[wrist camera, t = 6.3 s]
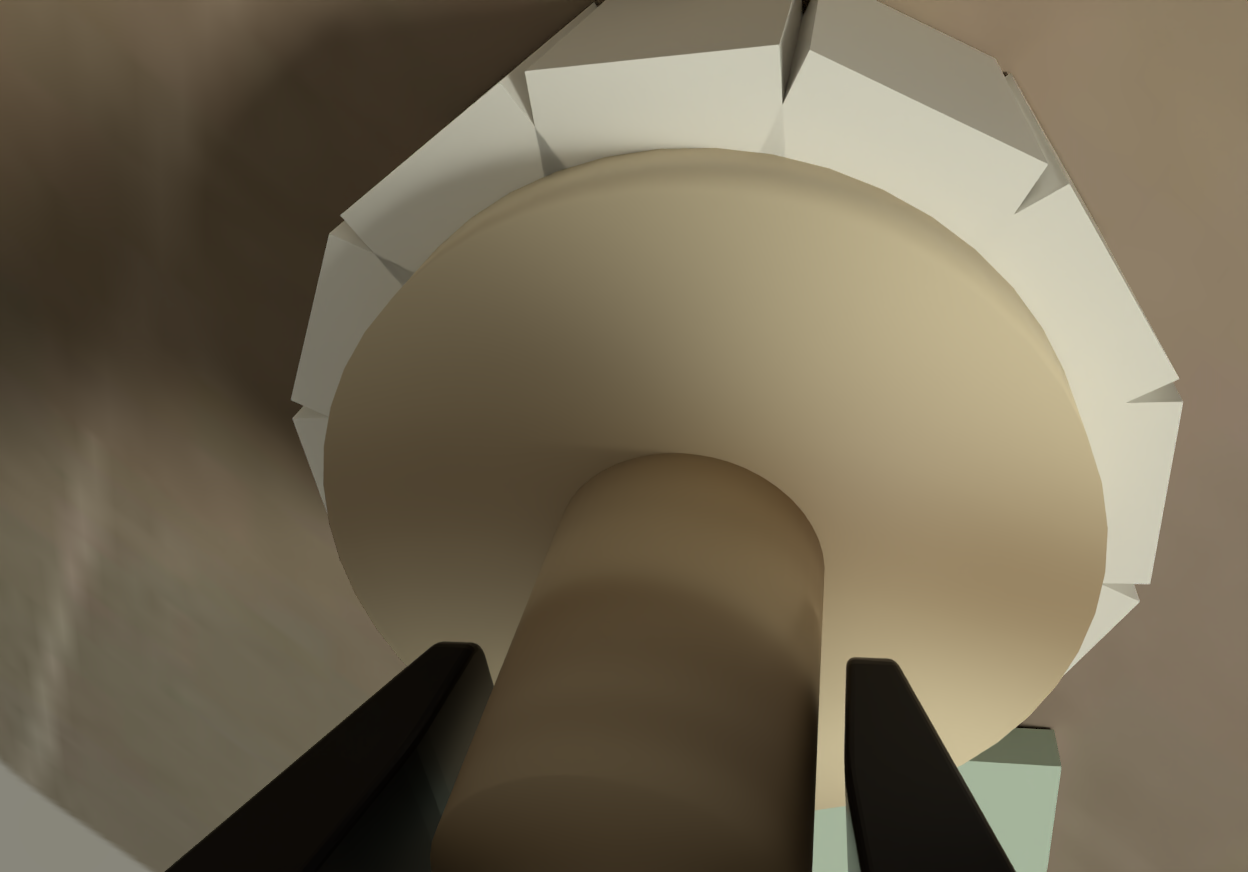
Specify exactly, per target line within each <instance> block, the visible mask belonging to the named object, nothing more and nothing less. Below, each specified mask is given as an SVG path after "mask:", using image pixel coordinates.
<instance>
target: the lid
mask: <svg viewBox="0 0 1248 872" xmlns="http://www.w3.org/2000/svg"><path fill="white" fill-rule="evenodd" d="M323 486H324V492H325V499H326V506H327V513H328V520H329V525H330V528H331V531H332V535H333V538H334V542H335V545H336V548H337V552H338V555H339V558H340V561H341V563H342V565H343V568H344V570H345V572H346V574H347V577H348V579H349V581H350V583H351V585H352V588H353V590H354V592H355V594H356V596H357V598H358V599H359V601H360V603H361V604H362V606H363V608H364V609H365V611H366V612H367V614H368V616H369V617H370V619H371V621H372V622H373V624H374V626H375V627H376V629H377V630H378V631H379V632H380V634H381V635H382V636H383V638H384V639H385V640H386V642H387V643H388V644H389V645H390V647H391V648H392V649H393V651H394V652H395V653H396V655H397V656H398V657H399V658H400V659H401V660H402V661H403V662H404V664H405V665H406V666H408V665H410V664H411V663H412V662H413V661H414V660H415V659H417V658H418V657H419V656H420V655H421V654H423V653H424V652H425V651H426V650H427V649H428V648H430V647H431V646H432V645H434V644H436V643H438V642H443V641H449V642H473V643H476V644H478V645H479V646H480V647H481V648H482V649H483V651H484V654H485V657H486V660H487V663H488V667H489V670H490V674H491V677H492V681H493V684H494V687H493V690H492V692H491V695H490V697H489V700H488V702H487V705H486V707H485V710H484V712H483V715H482V717H481V720H480V722H479V725H478V727H477V730H476V732H475V734H474V737H473V739H472V742H471V744H470V747H469V749H468V752H467V754H466V757H465V759H464V762H463V764H462V767H461V769H460V772H459V774H458V777H457V779H456V782H455V784H454V787H453V789H452V792H451V794H450V797H449V799H448V802H447V804H446V807H445V809H444V812H443V814H442V817H441V819H440V822H439V824H438V827H437V829H436V832H435V835H434V837H433V840H432V844H431V852H430V862H431V872H812V866H813V841H814V817H815V810H821V809H828V808H835V807H842V806H846V802H845V772H844V734H845V688H846V664H847V661H848V660H849V659H850V658H852V657H866V658H889V659H892V660H894V661H896V662H897V664H898V665H899V666H900V668H901V669H902V671H903V673H904V674H905V676H906V678H907V680H908V682H909V683H910V685H911V687H912V689H913V690H914V692H915V694H916V696H917V697H918V699H919V701H920V703H921V705H922V706H923V708H924V710H925V712H926V713H927V715H928V717H929V719H930V720H931V722H932V724H933V726H934V727H935V729H936V731H937V733H938V735H939V736H940V738H941V740H942V742H943V743H944V745H945V747H946V749H947V750H948V752H949V754H950V756H951V758H952V759H953V761H954V763H955V765H956V766H957V767H959V766H961V765H963V764H965V763H966V762H968V761H969V760H971V759H972V758H974V757H976V756H977V755H979V754H980V753H982V752H983V751H985V750H987V749H988V748H990V747H991V746H993V745H994V744H996V743H998V742H999V741H1000V740H1001V739H1002V738H1004V737H1005V736H1006V735H1007V734H1008V733H1010V732H1011V731H1012V730H1013V729H1014V728H1016V727H1017V726H1018V725H1019V724H1020V723H1022V722H1023V721H1024V720H1025V719H1026V718H1028V717H1029V716H1030V715H1031V714H1032V712H1033V711H1034V710H1035V709H1036V708H1037V707H1038V706H1039V705H1040V703H1041V702H1042V701H1043V700H1044V699H1045V698H1046V697H1047V696H1048V695H1049V693H1050V692H1051V691H1052V690H1053V689H1054V688H1055V687H1056V686H1057V684H1058V683H1059V681H1060V680H1061V678H1062V676H1063V675H1064V673H1065V672H1066V670H1067V669H1068V667H1069V666H1070V664H1071V663H1072V661H1073V660H1074V658H1075V657H1076V655H1077V653H1078V652H1079V650H1080V648H1081V645H1082V643H1083V641H1084V638H1085V636H1086V634H1087V632H1088V629H1089V627H1090V625H1091V622H1092V620H1093V618H1094V616H1095V613H1096V609H1097V605H1098V601H1099V596H1100V592H1101V588H1102V584H1103V580H1104V576H1105V569H1106V551H1107V533H1108V526H1107V518H1106V511H1105V503H1104V495H1103V487H1102V481H1101V478H1100V475H1099V472H1098V469H1097V465H1096V462H1095V459H1094V456H1093V453H1092V449H1091V446H1090V443H1089V440H1088V437H1087V434H1086V431H1085V428H1084V425H1083V422H1082V420H1081V417H1080V414H1079V411H1078V408H1077V405H1076V403H1075V400H1074V397H1073V394H1072V391H1071V388H1070V385H1069V383H1068V380H1067V377H1066V374H1065V371H1064V369H1063V367H1062V365H1061V363H1060V361H1059V359H1058V357H1057V355H1056V353H1055V351H1054V349H1053V347H1052V346H1051V344H1050V342H1049V340H1048V338H1047V336H1046V334H1045V332H1044V330H1043V328H1042V327H1041V325H1040V324H1039V322H1038V321H1037V320H1036V318H1035V317H1034V316H1033V314H1032V313H1031V311H1030V310H1029V309H1028V307H1027V306H1026V305H1025V303H1024V302H1023V300H1022V299H1021V298H1020V296H1019V295H1018V294H1017V292H1016V291H1015V289H1014V288H1013V287H1012V286H1011V285H1010V284H1009V283H1008V282H1007V281H1006V280H1005V279H1004V278H1003V277H1002V276H1001V275H1000V274H999V273H998V272H997V271H996V270H995V269H994V268H993V267H992V266H991V265H990V264H989V263H988V262H987V261H986V260H985V259H984V258H983V257H982V256H981V255H980V254H979V253H978V252H977V251H976V250H975V249H974V248H973V247H971V246H970V245H969V244H967V243H966V242H965V241H963V240H962V239H961V238H959V237H958V236H957V235H955V234H954V233H953V232H951V231H950V230H949V229H948V228H946V227H945V226H944V225H942V224H941V223H940V222H938V221H937V220H936V219H934V218H933V217H931V216H930V215H928V214H926V213H924V212H922V211H921V210H919V209H917V208H915V207H913V206H912V205H910V204H908V203H906V202H904V201H903V200H901V199H899V198H897V197H895V196H894V195H892V194H890V193H888V192H886V191H885V190H883V189H880V188H878V187H875V186H873V185H870V184H868V183H865V182H863V181H860V180H858V179H855V178H852V177H850V176H847V175H845V174H842V173H840V172H837V171H835V170H832V169H829V168H826V167H822V166H818V165H814V164H810V163H806V162H802V161H797V160H793V159H789V158H785V157H781V156H777V155H773V154H765V153H756V152H747V151H739V150H730V149H721V148H682V149H655V150H649V151H642V152H636V153H629V154H622V155H616V156H609V157H604V158H601V159H597V160H594V161H590V162H587V163H584V164H580V165H577V166H573V167H570V168H567V169H563V170H560V171H557V172H554V173H552V174H550V175H547V176H545V177H543V178H541V179H539V180H536V181H534V182H532V183H530V184H528V185H525V186H523V187H521V188H519V189H517V190H515V191H512V192H510V193H509V194H507V195H505V196H504V197H502V198H501V199H499V200H498V201H496V202H495V203H493V204H492V205H490V206H489V207H487V208H485V209H484V210H482V211H481V212H479V213H478V214H476V215H475V216H473V217H472V218H470V219H469V220H468V221H467V222H466V223H465V224H463V225H462V226H461V227H460V228H459V229H458V230H457V231H456V232H454V233H453V234H452V235H451V236H450V237H449V238H448V239H447V240H446V241H444V242H443V243H442V244H441V245H440V246H439V247H438V248H437V249H436V250H435V251H434V252H433V253H432V254H431V255H430V256H429V258H428V259H427V260H426V261H425V262H424V263H423V264H422V265H421V266H420V268H419V269H418V270H417V271H416V272H415V273H414V274H413V275H412V276H411V278H410V279H409V280H408V281H407V282H406V283H405V284H404V285H403V287H402V288H401V289H400V290H399V291H398V292H397V293H396V294H395V295H394V297H393V298H392V299H391V300H390V301H389V303H388V304H387V305H386V306H385V308H384V309H383V310H382V311H381V313H380V314H379V315H378V316H377V317H376V319H375V320H374V321H373V322H372V324H371V325H370V326H369V327H368V329H367V330H366V331H365V333H364V334H363V336H362V338H361V340H360V341H359V343H358V345H357V347H356V349H355V350H354V352H353V354H352V356H351V357H350V359H349V361H348V363H347V365H346V366H345V368H344V371H343V373H342V376H341V379H340V382H339V385H338V387H337V390H336V393H335V396H334V399H333V402H332V404H331V407H330V413H329V419H328V424H327V430H326V436H325V442H324V471H323Z"/></svg>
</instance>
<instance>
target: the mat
mask: <svg viewBox="0 0 1248 872" xmlns="http://www.w3.org/2000/svg"><path fill="white" fill-rule="evenodd" d="M957 768H958V770H959V772H960V773H961V775H962V777H963V779H964V781H965V782H966V784H967V786H968V788H969V789H970V791H971V793H972V795H973V796H974V798H975V800H976V802H977V803H978V805H979V807H980V809H981V811H982V812H983V814H984V816H985V818H986V819H987V821H988V823H989V825H990V826H991V828H992V830H993V832H994V834H995V835H996V837H997V839H998V841H999V842H1000V844H1001V846H1002V848H1003V849H1004V851H1005V853H1006V855H1007V857H1008V858H1009V860H1010V862H1011V864H1012V865H1013V867H1014V869H1015V871H1016V872H1047V867H1048V860H1049V852H1050V845H1051V838H1052V831H1053V824H1054V816H1055V809H1056V802H1057V795H1058V788H1059V780H1060V773H1061V762H1060V758H1059V753H1058V748H1057V743H1056V738H1055V733H1054V730H1047V729H1028V728H1014V729H1013V730H1012V731H1011V732H1010V733H1008V734H1007V735H1006V736H1005V737H1004V738H1002V739H1001V740H1000V741H999V742H998V743H996V744H994V745H993V746H991V747H990V748H988V749H987V750H985V751H983V752H982V753H980V754H979V755H977V756H976V757H974V758H972V759H971V760H969V761H968V762H966V763H965V764H963V765H961V766H959V767H957ZM812 872H848V861H847V832H846V806H842V807H835V808H828V809H821V810H815V817H814V841H813V866H812Z"/></svg>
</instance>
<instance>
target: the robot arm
mask: <svg viewBox="0 0 1248 872" xmlns="http://www.w3.org/2000/svg"><path fill="white" fill-rule="evenodd" d="M493 687H494V684H493V681H492V677H491V674H490V670H489V667H488V663H487V660H486V657H485V654H484V651H483V649H482V648H481V647H480V646H479V645H478V644H476V643H473V642H449V641H443V642H438V643H436V644H434V645H432V646H431V647H430V648H428V649H427V650H426V651H425V652H424V653H423V654H421V655H420V656H419V657H418V658H417V659H415V660H414V661H413V662H412V663H411V664H410V665H408V666H407V667H406V668H405V669H404V670H402V671H401V672H400V673H399V674H398V675H397V676H395V677H394V678H393V679H392V680H391V681H389V682H388V683H387V684H386V685H385V686H384V687H382V688H381V689H380V690H379V691H378V692H376V693H375V694H374V695H373V696H372V697H371V698H369V699H368V700H367V701H366V702H365V703H363V704H362V705H361V706H360V707H359V708H358V709H356V710H355V711H354V712H353V713H352V714H350V715H349V716H348V717H347V718H346V719H345V720H343V721H342V722H341V723H340V724H339V725H337V726H336V727H335V728H334V729H333V730H331V731H330V732H329V733H328V734H327V735H326V736H324V737H323V738H322V739H321V740H320V741H318V742H317V743H316V744H315V745H314V746H313V747H311V748H310V749H309V750H308V751H307V752H305V753H304V754H303V755H302V756H301V757H300V758H298V759H297V760H296V761H295V762H294V763H292V764H291V765H290V766H289V767H288V768H287V769H285V770H284V771H283V772H282V773H281V774H279V775H278V776H277V777H276V778H275V779H274V780H272V781H271V782H270V783H269V784H268V785H266V786H265V787H264V788H263V789H262V790H261V791H259V792H258V793H257V794H256V795H255V796H253V797H252V798H251V799H250V800H249V801H248V802H246V803H245V804H244V805H243V806H242V807H240V808H239V809H238V810H237V811H236V812H235V813H233V814H232V815H231V816H230V817H229V818H227V819H226V820H225V821H224V822H223V823H221V824H220V825H219V826H218V827H217V828H216V829H214V830H213V831H212V832H211V833H210V834H208V835H207V836H206V837H205V838H204V839H203V840H201V841H200V842H199V843H198V844H197V845H195V846H194V847H193V848H192V849H191V850H190V851H188V852H187V853H186V854H185V855H184V856H182V857H181V858H180V859H179V860H178V861H177V862H175V863H174V864H173V865H172V866H171V867H169V868H168V869H167V870H166V871H165V872H431V862H430V852H431V844H432V840H433V837H434V835H435V832H436V829H437V827H438V824H439V822H440V819H441V817H442V814H443V812H444V809H445V807H446V804H447V802H448V799H449V797H450V794H451V792H452V789H453V787H454V784H455V782H456V779H457V777H458V774H459V772H460V769H461V767H462V764H463V762H464V759H465V757H466V754H467V752H468V749H469V747H470V744H471V742H472V739H473V737H474V734H475V732H476V730H477V727H478V725H479V722H480V720H481V717H482V715H483V712H484V710H485V707H486V705H487V702H488V700H489V697H490V695H491V692H492V690H493ZM844 772H845V802H846V832H847V861H848V872H1016V871H1015V869H1014V867H1013V865H1012V864H1011V862H1010V860H1009V858H1008V857H1007V855H1006V853H1005V851H1004V849H1003V848H1002V846H1001V844H1000V842H999V841H998V839H997V837H996V835H995V834H994V832H993V830H992V828H991V826H990V825H989V823H988V821H987V819H986V818H985V816H984V814H983V812H982V811H981V809H980V807H979V805H978V803H977V802H976V800H975V798H974V796H973V795H972V793H971V791H970V789H969V788H968V786H967V784H966V782H965V781H964V779H963V777H962V775H961V773H960V772H959V770H958V768H957V766H956V765H955V763H954V761H953V759H952V758H951V756H950V754H949V752H948V750H947V749H946V747H945V745H944V743H943V742H942V740H941V738H940V736H939V735H938V733H937V731H936V729H935V727H934V726H933V724H932V722H931V720H930V719H929V717H928V715H927V713H926V712H925V710H924V708H923V706H922V705H921V703H920V701H919V699H918V697H917V696H916V694H915V692H914V690H913V689H912V687H911V685H910V683H909V682H908V680H907V678H906V676H905V674H904V673H903V671H902V669H901V668H900V666H899V665H898V664H897V662H896V661H894V660H892V659H889V658H866V657H852V658H850V659H849V660H848V661H847V664H846V688H845V734H844Z"/></svg>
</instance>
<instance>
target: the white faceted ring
mask: <svg viewBox="0 0 1248 872" xmlns="http://www.w3.org/2000/svg"><path fill="white" fill-rule="evenodd" d="M682 148H721V149H730V150H739V151H747V152H756V153H765V154H773V155H777V156H781V157H785V158H789V159H793V160H797V161H802V162H806V163H810V164H814V165H818V166H822V167H826V168H829V169H832V170H835V171H837V172H840V173H842V174H845V175H847V176H850V177H852V178H855V179H858V180H860V181H863V182H865V183H868V184H870V185H873V186H875V187H878V188H880V189H883V190H885V191H886V192H888V193H890V194H892V195H894V196H895V197H897V198H899V199H901V200H903V201H904V202H906V203H908V204H910V205H912V206H913V207H915V208H917V209H919V210H921V211H922V212H924V213H926V214H928V215H930V216H931V217H933V218H934V219H936V220H937V221H938V222H940V223H941V224H942V225H944V226H945V227H946V228H948V229H949V230H950V231H951V232H953V233H954V234H955V235H957V236H958V237H959V238H961V239H962V240H963V241H965V242H966V243H967V244H969V245H970V246H971V247H973V248H974V249H975V250H976V251H977V252H978V253H979V254H980V255H981V256H982V257H983V258H984V259H985V260H986V261H987V262H988V263H989V264H990V265H991V266H992V267H993V268H994V269H995V270H996V271H997V272H998V273H999V274H1000V275H1001V276H1002V277H1003V278H1004V279H1005V280H1006V281H1007V282H1008V283H1009V284H1010V285H1011V286H1012V287H1013V288H1014V289H1015V291H1016V292H1017V294H1018V295H1019V296H1020V298H1021V299H1022V300H1023V302H1024V303H1025V305H1026V306H1027V307H1028V309H1029V310H1030V311H1031V313H1032V314H1033V316H1034V317H1035V318H1036V320H1037V321H1038V322H1039V324H1040V325H1041V327H1042V328H1043V330H1044V332H1045V334H1046V336H1047V338H1048V340H1049V342H1050V344H1051V346H1052V347H1053V349H1054V351H1055V353H1056V355H1057V357H1058V359H1059V361H1060V363H1061V365H1062V367H1063V369H1064V371H1065V374H1066V377H1067V380H1068V383H1069V385H1070V388H1071V391H1072V394H1073V397H1074V400H1075V403H1076V405H1077V408H1078V411H1079V414H1080V417H1081V420H1082V422H1083V425H1084V428H1085V431H1086V434H1087V437H1088V440H1089V443H1090V446H1091V449H1092V453H1093V456H1094V459H1095V462H1096V465H1097V469H1098V472H1099V475H1100V478H1101V481H1102V487H1103V495H1104V503H1105V511H1106V518H1107V526H1108V533H1107V551H1106V569H1105V576H1104V580H1103V584H1102V588H1101V592H1100V596H1099V601H1098V605H1097V609H1096V613H1095V616H1094V618H1093V620H1092V622H1091V625H1090V627H1089V629H1088V632H1087V634H1086V636H1085V638H1084V641H1083V643H1082V645H1081V648H1080V650H1079V652H1078V653H1077V655H1076V657H1075V658H1074V660H1073V661H1072V663H1071V664H1070V666H1069V667H1068V669H1067V670H1066V672H1067V671H1069V670H1070V669H1071V668H1072V667H1073V666H1074V665H1075V664H1076V663H1077V662H1078V661H1079V660H1080V659H1081V658H1082V657H1083V656H1084V655H1085V654H1086V653H1087V652H1088V651H1089V650H1090V649H1091V648H1092V647H1093V646H1094V645H1095V644H1097V643H1098V642H1099V641H1100V640H1101V639H1102V638H1103V637H1104V636H1105V635H1106V634H1107V633H1108V632H1109V631H1110V630H1111V629H1112V628H1113V627H1114V626H1115V625H1116V624H1117V623H1118V622H1119V621H1120V620H1121V619H1122V618H1123V617H1125V616H1126V615H1127V614H1128V613H1129V612H1130V611H1131V610H1132V609H1133V608H1134V607H1135V606H1136V605H1137V604H1138V603H1139V602H1140V600H1139V598H1138V595H1137V592H1136V589H1135V586H1134V584H1150V581H1151V576H1152V570H1153V565H1154V559H1155V554H1156V548H1157V543H1158V537H1159V532H1160V526H1161V521H1162V515H1163V510H1164V504H1165V499H1166V493H1167V488H1168V482H1169V477H1170V471H1171V466H1172V461H1173V455H1174V450H1175V444H1176V439H1177V433H1178V428H1179V422H1180V417H1181V411H1182V406H1183V400H1182V398H1181V397H1180V395H1179V393H1178V391H1177V389H1176V387H1175V385H1174V383H1173V382H1174V381H1176V380H1178V379H1179V377H1178V375H1177V373H1176V372H1175V370H1174V368H1173V366H1172V364H1171V362H1170V360H1169V359H1168V357H1167V355H1166V353H1165V351H1164V349H1163V347H1162V346H1161V344H1160V342H1159V340H1158V338H1157V336H1156V334H1155V333H1154V331H1153V329H1152V327H1151V325H1150V323H1149V321H1148V320H1147V318H1146V316H1145V314H1144V312H1143V310H1142V309H1141V307H1140V305H1139V303H1138V301H1137V299H1136V297H1135V296H1134V294H1133V292H1132V290H1131V288H1130V286H1129V284H1128V283H1127V281H1126V279H1125V277H1124V275H1123V273H1122V271H1121V270H1120V268H1119V266H1118V264H1117V262H1116V260H1115V258H1114V257H1113V255H1112V253H1111V251H1110V249H1109V247H1108V245H1107V244H1106V242H1105V240H1104V238H1103V236H1102V234H1101V233H1100V231H1099V229H1098V227H1097V225H1096V223H1095V222H1094V220H1093V218H1092V216H1091V214H1090V213H1089V211H1088V209H1087V207H1086V206H1085V204H1084V202H1083V200H1082V198H1081V197H1080V195H1079V193H1078V191H1077V189H1076V188H1075V186H1074V184H1073V182H1072V181H1071V179H1070V177H1069V175H1068V173H1067V172H1066V170H1065V168H1064V166H1063V165H1062V163H1061V161H1060V159H1059V157H1058V156H1057V154H1056V152H1055V150H1054V149H1053V147H1052V145H1051V143H1050V141H1049V140H1048V138H1047V136H1046V134H1045V133H1044V131H1043V129H1042V127H1041V125H1040V124H1039V122H1038V120H1037V118H1036V117H1035V115H1034V113H1033V111H1032V109H1031V108H1030V106H1029V104H1028V102H1027V101H1026V99H1025V97H1024V95H1023V93H1022V92H1021V90H1020V88H1019V86H1018V85H1017V83H1016V81H1015V79H1014V77H1013V76H1012V74H1011V73H1010V74H1008V75H1007V76H1004V74H1003V72H1002V70H1001V68H1000V66H999V64H998V62H997V60H996V58H994V57H992V56H989V55H987V54H985V53H983V52H981V51H979V50H977V49H975V48H973V47H971V46H969V45H967V44H965V43H963V42H961V41H959V40H956V39H954V38H952V37H950V36H948V35H946V34H944V33H942V32H940V31H938V30H936V29H934V28H932V27H930V26H928V25H926V24H924V23H921V22H919V21H917V20H915V19H913V18H911V17H909V16H907V15H905V14H903V13H901V12H899V11H897V10H895V9H893V8H891V7H888V6H886V5H884V4H882V3H880V2H878V1H876V0H810V2H809V4H808V6H807V8H806V11H805V13H804V15H803V13H802V0H605V1H604V2H603V3H602V4H601V5H600V6H598V7H597V6H596V4H595V3H594V2H593V3H592V4H591V5H590V6H589V7H587V8H586V9H585V10H584V11H583V12H582V13H580V14H579V15H578V16H577V17H576V18H574V19H573V20H572V21H571V22H570V23H568V24H567V25H566V26H565V27H564V28H562V29H561V30H560V31H559V32H558V33H556V34H555V35H554V36H553V37H552V38H550V39H549V40H548V41H547V42H546V43H544V44H543V45H542V46H541V47H540V48H539V49H537V50H536V51H535V52H534V53H533V54H531V55H530V56H529V57H528V58H527V59H525V60H524V61H523V62H522V63H521V64H519V65H518V66H517V67H516V68H515V69H513V70H512V71H511V72H510V73H509V74H507V75H506V76H505V77H504V78H503V79H501V80H500V81H499V82H498V83H497V84H496V85H494V86H493V87H492V88H491V89H490V90H488V91H487V92H486V93H485V94H484V95H482V96H481V97H480V98H479V99H478V100H476V101H475V102H474V103H473V104H472V105H470V106H469V107H468V108H467V109H466V110H464V111H463V112H462V113H461V114H460V115H459V116H457V117H456V118H455V119H454V120H453V121H451V122H450V123H449V124H448V125H447V126H445V127H444V128H443V129H442V130H441V131H440V132H438V133H437V134H436V135H435V136H434V137H432V138H431V139H430V140H429V141H428V142H426V143H425V144H424V145H423V146H422V147H421V148H419V149H418V150H417V151H416V152H415V153H413V154H412V155H411V156H410V157H409V158H408V159H406V160H405V161H404V162H403V163H402V164H400V165H399V166H398V167H397V168H396V169H394V170H393V171H392V172H391V173H390V174H389V175H387V176H386V177H385V178H384V179H383V180H381V181H380V182H379V183H378V184H377V185H375V186H374V187H373V188H372V189H371V190H370V191H368V192H367V193H366V194H365V195H364V196H362V197H361V198H360V199H359V200H358V201H356V202H355V203H354V204H353V205H352V206H351V207H349V208H348V209H347V210H346V211H345V212H343V213H342V214H341V215H340V216H341V217H342V218H343V219H344V221H343V222H342V223H341V224H340V225H338V226H337V227H336V228H335V229H334V230H333V231H331V232H330V233H329V236H328V241H327V245H326V249H325V254H324V258H323V262H322V267H321V271H320V275H319V280H318V284H317V288H316V293H315V297H314V301H313V306H312V310H311V314H310V319H309V323H308V327H307V332H306V336H305V340H304V345H303V349H302V353H301V357H300V362H299V366H298V370H297V375H296V379H295V383H294V388H293V392H292V396H291V400H292V401H294V402H296V403H298V404H301V405H303V407H302V408H301V409H300V410H299V411H298V413H297V414H296V415H295V416H294V417H293V418H292V419H293V422H294V425H295V427H296V430H297V433H298V436H299V438H300V441H301V444H302V446H303V449H304V452H305V455H306V457H307V460H308V463H309V465H310V468H311V471H312V474H313V476H314V479H315V482H316V484H317V487H318V490H319V493H320V495H321V498H322V501H323V504H324V506H325V509H326V512H327V506H326V499H325V492H324V486H323V471H324V442H325V436H326V430H327V424H328V419H329V413H330V407H331V404H332V402H333V399H334V396H335V393H336V390H337V387H338V385H339V382H340V379H341V376H342V373H343V371H344V368H345V366H346V365H347V363H348V361H349V359H350V357H351V356H352V354H353V352H354V350H355V349H356V347H357V345H358V343H359V341H360V340H361V338H362V336H363V334H364V333H365V331H366V330H367V329H368V327H369V326H370V325H371V324H372V322H373V321H374V320H375V319H376V317H377V316H378V315H379V314H380V313H381V311H382V310H383V309H384V308H385V306H386V305H387V304H388V303H389V301H390V300H391V299H392V298H393V297H394V295H395V294H396V293H397V292H398V291H399V290H400V289H401V288H402V287H403V285H404V284H405V283H406V282H407V281H408V280H409V279H410V278H411V276H412V275H413V274H414V273H415V272H416V271H417V270H418V269H419V268H420V266H421V265H422V264H423V263H424V262H425V261H426V260H427V259H428V258H429V256H430V255H431V254H432V253H433V252H434V251H435V250H436V249H437V248H438V247H439V246H440V245H441V244H442V243H443V242H444V241H446V240H447V239H448V238H449V237H450V236H451V235H452V234H453V233H454V232H456V231H457V230H458V229H459V228H460V227H461V226H462V225H463V224H465V223H466V222H467V221H468V220H469V219H470V218H472V217H473V216H475V215H476V214H478V213H479V212H481V211H482V210H484V209H485V208H487V207H489V206H490V205H492V204H493V203H495V202H496V201H498V200H499V199H501V198H502V197H504V196H505V195H507V194H509V193H510V192H512V191H515V190H517V189H519V188H521V187H523V186H525V185H528V184H530V183H532V182H534V181H536V180H539V179H541V178H543V177H545V176H547V175H550V174H552V173H554V172H557V171H560V170H563V169H567V168H570V167H573V166H577V165H580V164H584V163H587V162H590V161H594V160H597V159H601V158H604V157H609V156H616V155H622V154H629V153H636V152H642V151H649V150H655V149H682ZM327 514H328V513H327ZM1066 672H1065V673H1066ZM1065 673H1064V674H1065Z"/></svg>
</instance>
